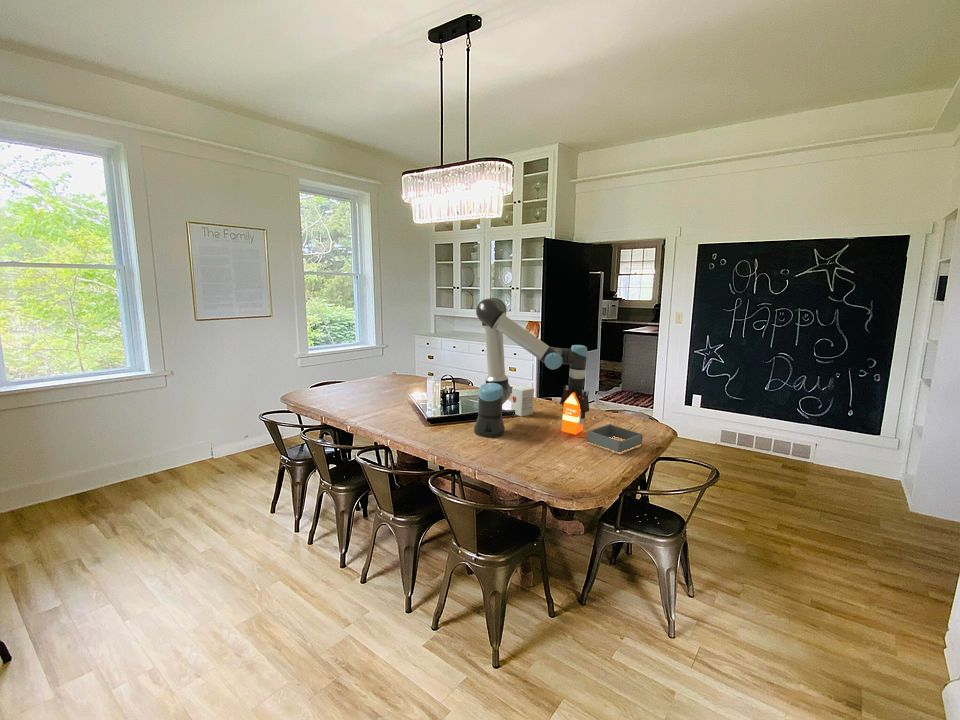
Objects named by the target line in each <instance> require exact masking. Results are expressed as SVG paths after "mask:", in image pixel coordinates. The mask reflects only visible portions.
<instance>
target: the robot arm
mask: <svg viewBox="0 0 960 720" xmlns="http://www.w3.org/2000/svg"><path fill="white" fill-rule="evenodd" d="M475 309H476V310H475V312H476V317H477V318H478V320H479V321H480V322H481V327H482V328H484V329H485V346H486V361H487V362H486V363H487V376H486V378H485V383H483V384H481V385H480V386H479V388H478V404H477V405H478V406H477V407H478V409H477V410H478V412H477V415H478V416H477V418H476V421H475V425H474V426H473V433H474V434H475V435H478V436H480V437H485V438H497V437H502V436H504V435H505V432H506V427H505V424H504V421H503V405H504V404H505V403H506V402H507V401H508V400H509V398H510V397H511V394H512V388H511V385H510V384H509V376H507V375H506V372H505V371H506V369H505V353H504V351H505V349H504V336H506V337H507V338H508V339H510V340H512V341H513V342H514V343H515V344H517V345H518V346H520V347H521V348H522V349H524V350H525V351H527V352H528V353H530V354H531V355H533V356H534V357H535V358H537V359H538V360H539V361H541V362H543V364H544V365H545V367H546V368H548V369H549V370H557V369H559V368H560V367H562V365H569V372H568V373H569V374H568V375H569V377H568V385H563V391H562V395H561V398H560V402H559V404H560V405H562V409H563V408H564V402H565V401H566V400H567V398H568V397H569V396H570V395H571V394H572V393H573V392H575V394H576V398H577V399H578V401H579V404H580V410H581V412H579V421H578V425H582V424H583V425H584V421H583V419H585V417H586V413H588V412H590V404H589V395H590V394H589V393H590V392H589V390H584V386H585V381H586V380H585V377H586V370H587V369H586V368H587V359H588V347H587V346H585V345H582V344H574V345H573V344H572V345H571V347H570V348H564V347H563V348H562V347H554V346H549V345H548V344H547V343H545V342H544V341H542V340H541V339H539V338H538V337H536V336H535V335H534V334H532V333H530V332H529V331H528V330H527V329H526V328H524V327H522V326H521V325H519V324H518V323H517V322H515V321H513V320H512V319H511V318H509V317H508V316H506V315H507V305H506V303H505V302H504V301H503V300H502V299H499V298H498V297H490V298H485V299H482V300H481V301H480V302H478V304H477V306H476V308H475ZM579 396H580V397H579Z"/></svg>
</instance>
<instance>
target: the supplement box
mask: <svg viewBox="0 0 960 720" xmlns="http://www.w3.org/2000/svg"><path fill="white" fill-rule="evenodd" d="M534 394H535V388H533V387H530V386H527V385H524V384H522V385H516V386H512V388H511V403H510V404H511V406H510V410H511V409H513V410H515V414H514V415H517V417H520V418H521V417H525V416H530V415H531V416H532V415H533V413H534V412H533V411H534Z"/></svg>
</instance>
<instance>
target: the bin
mask: <svg viewBox="0 0 960 720" xmlns="http://www.w3.org/2000/svg"><path fill="white" fill-rule="evenodd" d="M643 435H644V434H642V433H639V432H636V431H633V430H630V429H627V428H623V427H621V426H618V425H614V424H612V423H610V424H609V423H608V424H606V425H602V426H600V427H597V428H592V429H590V430H587V435H586V437H587V438H586V443H587V442H590V443H593V444H596V445H599V446H602V447H605V448H609V449H611V450H614V451H617V452H622V451H624V450H627V449H630V448H632V447H635V446H637V445H640V444H642V443H643ZM613 436H615V437H619V438H622V439H625V440H623V441H617V440H614V439H611V438H612V437H613ZM609 437H611V438H609ZM613 438H614V437H613Z"/></svg>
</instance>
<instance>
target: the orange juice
mask: <svg viewBox="0 0 960 720" xmlns="http://www.w3.org/2000/svg"><path fill="white" fill-rule="evenodd" d="M579 397H580V396H579ZM579 412H581V410H580V404H579V401H578V399H577V398H576V394H575V392H573V393H572V394H571V395H570V396H569V397H568V398H567V400H566V401H565V402H564V408H563V407H562V419H561V420H562V423H561V432H565V433H568V434H572V435H577V434H579V433H580V432H583V429H584V423H583V424H582V425H578V421H579ZM584 419H585V418H584ZM584 419H583V422H584Z"/></svg>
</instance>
